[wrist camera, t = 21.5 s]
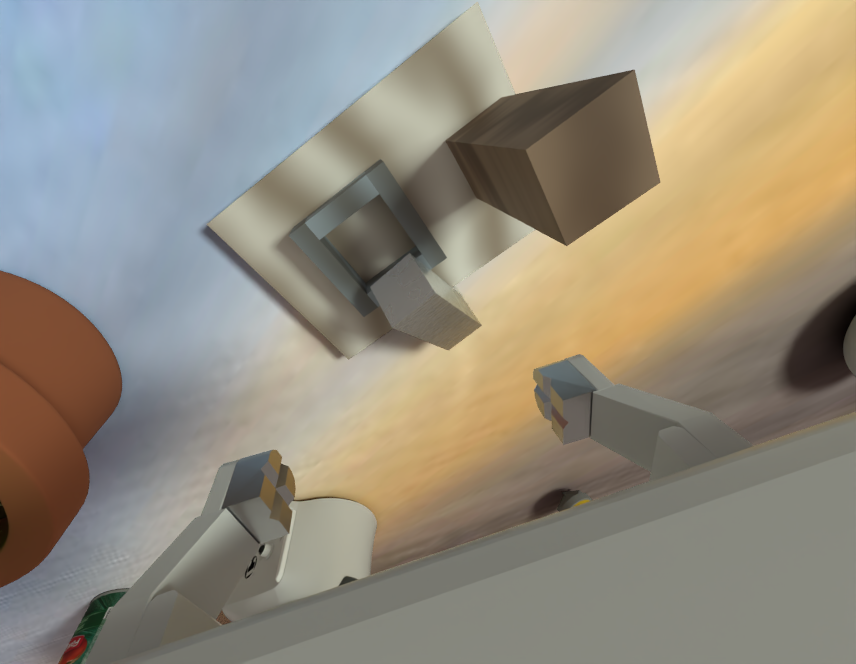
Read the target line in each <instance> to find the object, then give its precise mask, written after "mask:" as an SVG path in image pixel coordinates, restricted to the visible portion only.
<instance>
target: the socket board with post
mask: <svg viewBox="0 0 856 664" xmlns="http://www.w3.org/2000/svg"><path fill="white" fill-rule="evenodd" d="M659 183H660V179H659V174H658V170H657V165H656V161H655V157H654V152H653V148H652V144H651V139H650V135H649V131H648V126H647V122H646V117H645V113H644V109H643V104H642V100H641V96H640V91H639V87H638V83H637V78H636V74H635V70H631V71H626V72H621V73H616V74H611V75H607V76H602V77H597V78H592V79H587V80H583V81H578V82H573V83H568V84H563V85H558V86H554V87H549V88H544V89H539V90H534V91H530V92H525V93H520V94H515V92H514V89H513V87H512V85H511V82H510V80H509V77H508V75H507V72H506V70H505V67H504V65H503V63H502V60H501V58H500V55H499V53H498V50H497V48H496V45H495V43H494V40H493V38H492V36H491V33H490V31H489V28H488V26H487V23H486V21H485V18H484V16H483V14H482V11H481V9H480V6H479V4H478V2H477V3H475V4H474V5H473V6H472V7H470V8H469V9H468V10H467V11H466V12H464V13H463V14H462V15H461V16H460V17H458V18H457V19H456V20H455V21H453V22H452V23H451V24H450V25H449V26H447V27H446V28H445V29H444V30H443V31H441V32H440V33H439V34H438V35H436V36H435V37H434V38H433V39H432V40H430V41H429V42H428V43H427V44H425V45H424V46H423V47H422V48H421V49H419V50H418V51H417V52H416V53H415V54H413V55H412V56H411V57H410V58H408V59H407V60H406V61H405V62H404V63H402V64H401V65H400V66H399V67H398V68H396V69H395V70H394V71H393V72H391V73H390V74H389V75H388V76H387V77H385V78H384V79H383V80H382V81H381V82H379V83H378V84H377V85H376V86H374V87H373V88H372V89H371V90H370V91H368V92H367V93H366V94H365V95H363V96H362V97H361V98H360V99H359V100H357V101H356V102H355V103H354V104H353V105H351V106H350V107H349V108H348V109H346V110H345V111H344V112H343V113H342V114H340V115H339V116H338V117H337V118H336V119H334V120H333V121H332V122H331V123H329V124H328V125H327V126H326V127H325V128H323V129H322V130H321V131H320V132H318V133H317V134H316V135H315V136H314V137H312V138H311V139H310V140H309V141H308V142H306V143H305V144H304V145H303V146H301V147H300V148H299V149H298V150H297V151H295V152H294V153H293V154H292V155H291V156H289V157H288V158H287V159H286V160H284V161H283V162H282V163H281V164H280V165H278V166H277V167H276V168H275V169H274V170H272V171H271V172H270V173H269V174H267V175H266V176H265V177H264V178H263V179H261V180H260V181H259V182H258V183H256V184H255V185H254V186H253V187H252V188H250V189H249V190H248V191H247V192H246V193H244V194H243V195H242V196H241V197H239V198H238V199H237V200H236V201H235V202H233V203H232V204H231V205H230V206H229V207H227V208H226V209H225V210H224V211H222V212H221V213H220V214H219V215H218V216H216V217H215V218H214V219H213V220H212V221H210V222H209V223H208V224H207V225H208V226H209V227H210V228H211V229H212V230H213V231H214V232H215V233H216V234H217V235H218V236H219V237H221V238H222V239H223V240H224V241H225V242H226V243H227V244H228V245H229V246H230V247H231V248H232V249H233V250H234V251H235V252H236V253H237V254H238V255H239V256H240V257H242V258H243V259H244V260H245V261H246V262H247V263H248V264H249V265H250V266H251V267H252V268H253V269H254V270H255V271H256V272H257V273H258V274H259V275H260V276H261V277H262V278H264V279H265V280H266V281H267V282H268V283H269V284H270V285H271V286H272V287H273V288H274V289H275V290H276V291H277V292H278V293H279V294H280V295H281V296H282V297H283V298H285V299H286V300H287V301H288V302H289V303H290V304H291V305H292V306H293V307H294V308H295V309H296V310H297V311H298V312H299V313H300V314H301V315H302V316H303V317H304V318H306V319H307V320H308V321H309V322H310V323H311V324H312V325H313V326H314V327H315V328H316V329H317V330H318V331H319V332H320V333H321V334H322V335H323V336H324V337H325V338H326V339H328V340H329V341H330V342H331V343H332V344H333V345H334V346H335V347H336V348H337V349H338V350H339V351H340V352H341V353H342V354H343V355H344V356H345V357H346V358H347V359H350V358H352V357H353V356H355V355H356V354H358V353H359V352H360V351H362V350H363V349H365V348H366V347H368V346H369V345H370V344H372V343H373V342H375V341H376V340H378V339H379V338H380V337H382V336H383V335H385V334H386V333H388V332H389V331H391V330H392V329H393V328H392V327H391V325H390V323H389V321H388V319H387V317H386V316H385V314H384V312H383V310H382V308H381V306H380V305H379V303H378V301H377V299H376V297H375V295H374V294H373V292H372V290H371V288H370V287H371V286H372V285H373V284H374V283H375V282H377V281H378V280H379V279H380V278H381V277H382V276H383V275H385V274H386V273H387V272H388V271H389V270H390V269H392V268H393V267H394V266H395V265H396V264H397V263H398V262H400V261H401V260H402V259H403V258H404V257H405V256H407V255H408V254H409V253H410V254H412V255H413V256H414V257H415V258H417V259H418V260H419V261H420V262H422V263H423V264H424V265H425V266H426V267H428V268H429V269H430V270H431V271H433V272H434V273H435V274H436V275H438V276H439V277H440V278H441V279H443V280H444V281H445V282H446V283H447V284H449V285H450V286H451V287H454V286H455V285H456V284H458V283H459V282H461V281H462V280H464V279H465V278H466V277H468V276H469V275H471V274H472V273H474V272H475V271H476V270H478V269H479V268H481V267H482V266H484V265H485V264H486V263H488V262H489V261H491V260H492V259H494V258H495V257H496V256H498V255H499V254H501V253H502V252H504V251H505V250H507V249H508V248H509V247H511V246H512V245H514V244H515V243H517V242H518V241H519V240H521V239H522V238H524V237H525V236H527V235H528V234H529V233H531V232H532V231H534V230H535V229H536V230H538V231H540V232H541V233H543V234H545V235H547V236H549V237H551V238H553V239H555V240H556V241H558V242H560V243H562V244H564V245H566V246H568V245H569V244H571V243H572V242H574V241H575V240H576V239H578V238H579V237H581V236H582V235H584V234H585V233H587V232H588V231H590V230H591V229H593V228H594V227H596V226H597V225H599V224H600V223H601V222H603V221H604V220H606V219H607V218H609V217H610V216H612V215H613V214H615V213H616V212H618V211H619V210H621V209H622V208H623V207H625V206H626V205H628V204H629V203H631V202H632V201H634V200H635V199H637V198H638V197H640V196H641V195H643V194H644V193H645V192H647V191H648V190H650V189H651V188H653V187H654V186H656V185H657V184H659Z"/></svg>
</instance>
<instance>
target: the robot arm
mask: <svg viewBox="0 0 856 664" xmlns="http://www.w3.org/2000/svg"><path fill="white" fill-rule="evenodd" d="M533 379H534V380H535V382H536V383H537V386H536V388H535V389H534V392H535V399H536V402H537V405H538V408H539V410H540V412H541V413H542V415H543V416H544V418H546V419H548V420H550V421H552V429H553V431H554V432H555V434H556V435H557V436H558V438H559V439H560V441H561V442H562V443H563V445H564V444H568V443H571V442H575V441H578V440H581V439H585V438H588V437H591V439H593V440H594V441H596V442H598V443H600V444H602V445H603V446H605V447H607V448H609V449H611V450H612V451H614V452H616V453H618V454H620V455H621V456H623V457H625V458H627V459H629V460H630V461H632V462H634V463H636V464H638V465H639V466H641V467H643V468H645V469H646V470H648V471H650V472H651V474H650V479H649V482H646V483H643V484H640V485H637V486H634V487H631V488H628V489H625V490H622V491H619V492H616V493H613V494H610V495H607V496H604V497H601V498H598V499H595V500H592V501H589V502H586V503H583V504H580V505H577V506H574V507H571V508H569V509H566V510H563V511H560V512H557V513H554V514H551V515H548V516H545V517H542V518H539V519H536V520H533V521H530V522H527V523H524V524H521V525H518V526H515V527H512V528H509V529H506V530H503V531H501V532H498V533H495V534H492V535H489V536H486V537H483V538H480V539H477V540H474V541H471V542H468V543H465V544H462V545H459V546H456V547H453V548H450V549H447V550H444V551H441V552H438V553H435V554H432V555H429V556H426V557H424V558H421V559H418V560H415V561H412V562H409V563H406V564H403V565H400V566H397V567H394V568H391V569H388V570H385V571H382V572H379V573H376V574H373V575H370V572H371V560H372V551H373V544H374V538H375V533H376V528H377V521H376V518H375V516H374V514H373V513H372V512H371V511H370V510H369V509H368V508H367V507H365V506H363V505H362V504H359V503H357V502H354V501H351V500H346V499H339V498H323V499H314V500H308V501H299V502H298V501H292V500H293V499H294V497H295V480H294V476H293V474H292V471H291V470H290V468H289V467H288V466H286V465H283V464H281V460H282V456H281V455H280V454H279V452H278V451H277V450H270V451H267V452H263V453H259V454H256V455H252V456H249V457H245V458H242V459H240V460H236V461H233V462H229V463H225V464H223V465H222V466H221V467H220V468H219V470H218V472H217V475H216V478H215V480H214V483H213V486H212V488H211V491H210V493H209V496H208V499H207V501H206V504H205V507H204V509H203V512H202V514H201V516H200V517H197V518H195V519H194V520H193V521H192V522H191V523H190V524H189V525H188V526H187V528H186V529H185V530H184V531H183V532H182V533H181V534H180V535H179V536H178V537H177V538H176V539H175V541H174V542H173V543H172V544H171V545H170V546H169V547H168V548H167V549H166V550H165V551H164V552H163V554H162V555H161V556H160V557H159V558H158V559H157V560H156V561H155V562H154V563H153V564H152V565H151V567H150V568H149V569H148V570H147V571H146V572H145V573H144V574H143V575H142V576H141V577H140V578H139V580H138V581H137V582H136V583H135V584H134V585H133V586H132V587H131V588H130V589H129V590H128V591H127V593H126V594H125V595H124V596H123V597H122V598H121V599H120V600H119V601H118V602H117V603H116V604H115V606H114V607H113V608H112V609H111V611H110V613H109V615H108V617H107V619H106V621H105V623H104V625H103V628H102V630H101V632H100V634H99V636H98V638H97V640H96V642H95V644H94V646H93V648H92V650H91V652H90V654H89V656H88V658H87V660H86V662H85V664H856V412H853V413H850V414H847V415H844V416H841V417H838V418H835V419H832V420H829V421H827V422H824V423H821V424H818V425H815V426H812V427H809V428H806V429H803V430H800V431H797V432H794V433H791V434H788V435H785V436H782V437H779V438H776V439H773V440H770V441H767V442H764V443H761V444H758V445H755V446H753V445H752V444H751V443H749V442H748V441H747V440H745V439H744V438H743V437H742V436H740V435H739V434H738V433H736V432H735V431H734V430H733V429H731V428H730V427H729V426H727V425H726V424H725V423H723V422H722V421H721V420H720V419H718V418H717V417H716V416H714V415H713V414H712V413H710V412H707V411H704V410H701V409H698V408H694V407H691V406H688V405H685V404H682V403H679V402H675V401H672V400H669V399H666V398H663V397H660V396H656V395H653V394H650V393H647V392H644V391H641V390H637V389H634V388H631V387H628V386H625V385H622V384H617V385H614V384H613V383H612V382H611V381H610V380H609V379H608V378H606V377H605V376H604V375H603V374H602V373H601V372H600V371H599V370H598V369H597V368H596V367H595V366H594V365H592V364H591V363H590V362H589V361H588V360H587V359H586V358H585V357H584V356H583V355H580V354H579V355H576V356H573V357H569V358H566V359H564V360H561V361H558V362H555V363H551V364H548V365H545V366H542V367H539V368H536V369H534V371H533ZM221 610H222V611H223V613H224V615H225V616H226V617H227V618H228V619H229V620H230V621H231V623H228V624H225V625H222V624H220V623H219V622H218V621H216V619H217V617H218V615H219V614H220V612H221Z"/></svg>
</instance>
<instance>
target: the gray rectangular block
mask: <svg viewBox="0 0 856 664" xmlns="http://www.w3.org/2000/svg"><path fill="white" fill-rule="evenodd" d="M370 288H371V290H372V292H373V294H374V295H375V297H376V299H377V301H378V303H379V305H380V306H381V308H382V310H383V312H384V314H385V316H386V317H387V319H388V321H389V323H390V325H391V327H392V328H394V329H396V330H399V331H401V332H404V333H406V334H409V335H411V336H414V337H416V338H419V339H421V340H424V341H426V342H429V343H431V344H434V345H436V346H439V347H441V348H444V349H446V350H450V349H451V348H452V347H454V346H455V345H456V344H458V343H459V342H460V341H462V340H463V339H464V338H466V337H467V336H468V335H470V334H471V333H472V332H474V331H475V330H476V329H478V328H479V327H480V326H482V325H481V323H480V322H479V321H478V319H477V318H476V316H475V315H474V313H473V312H472V310H471V309H470V307H469V306H468V304H467V303H466V302H465V300H464V299H463V297H462V296H461V294H460V293H459V292H457V291H456V290H455V289H454V288H452V287H451V286H450V285H449V284H447V283H446V282H445V281H444V280H443V279H441V278H440V277H439V276H438V275H436V274H435V273H434V272H433V271H431V270H430V269H429V268H428V267H426V266H425V265H424V264H423V263H422V262H420V261H419V260H418V259H417V258H415V257H414V256H413V255H412V254H410V253H409V254H408V255H407V256H405V257H404V258H403V259H402V260H401V261H400V262H398V263H397V264H396V265H395V266H394V267H393V268H392V269H390V270H389V271H388V272H387V273H386V274H385V275H383V276H382V277H381V278H380V279H379V280H378V281H377V282H375V283H374V284H373V285H372V286H371V287H370Z"/></svg>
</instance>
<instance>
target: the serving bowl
mask: <svg viewBox="0 0 856 664" xmlns="http://www.w3.org/2000/svg"><path fill="white" fill-rule="evenodd" d="M843 354H844V359H845V362H846V364H847V366H848V368H849V369H850V371H851V372H852V373H853V374H854V376H855V377H856V315H855V317H854V318H853V320H852V322H851V323H850V325H849V327H848V330H847V332H846V335H845V339H844V344H843Z"/></svg>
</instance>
